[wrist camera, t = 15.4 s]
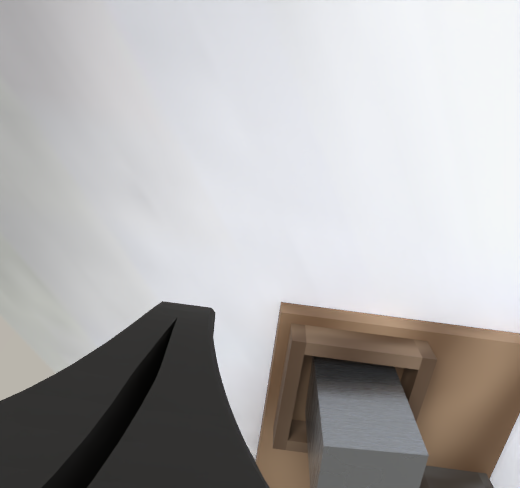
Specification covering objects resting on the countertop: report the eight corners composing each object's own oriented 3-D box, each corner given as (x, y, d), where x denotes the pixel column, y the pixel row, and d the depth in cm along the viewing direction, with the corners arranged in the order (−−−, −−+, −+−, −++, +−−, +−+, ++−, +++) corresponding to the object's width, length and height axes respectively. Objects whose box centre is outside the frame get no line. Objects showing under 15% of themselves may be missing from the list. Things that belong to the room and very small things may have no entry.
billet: (390, 357, 21) (429, 455, 16) (377, 417, 23) (408, 525, 17) (313, 350, 21) (323, 445, 16) (305, 410, 23) (312, 517, 17)
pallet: (538, 336, 22) (570, 368, 19) (453, 527, 27) (470, 571, 25) (281, 302, 22) (280, 330, 19) (249, 500, 27) (246, 541, 25)
